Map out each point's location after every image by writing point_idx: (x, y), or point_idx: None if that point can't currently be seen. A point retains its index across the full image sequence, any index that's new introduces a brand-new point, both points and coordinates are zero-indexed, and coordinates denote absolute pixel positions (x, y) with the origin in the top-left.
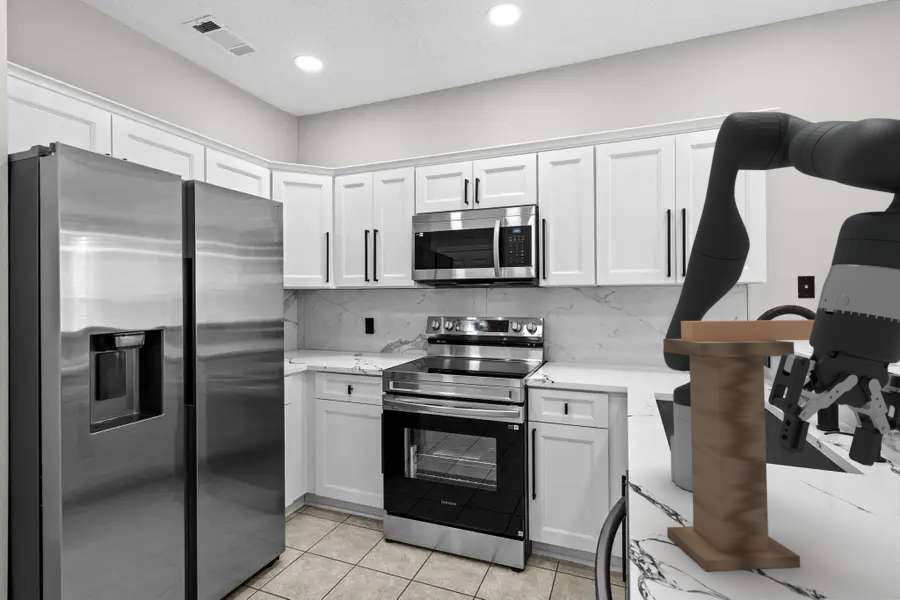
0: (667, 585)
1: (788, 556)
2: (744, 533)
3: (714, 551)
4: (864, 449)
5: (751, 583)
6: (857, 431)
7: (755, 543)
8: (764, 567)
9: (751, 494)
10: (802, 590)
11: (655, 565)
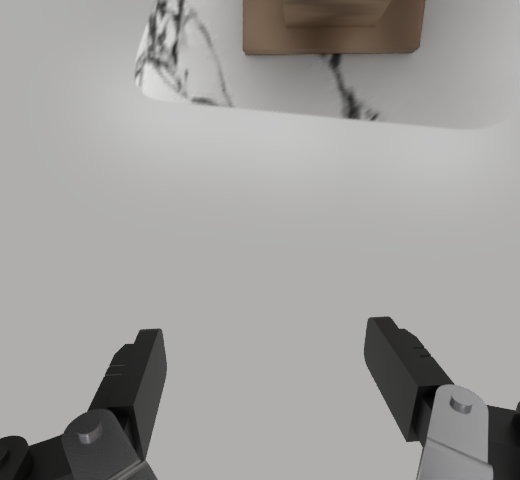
0: (171, 84)
1: (396, 47)
2: (331, 13)
3: (277, 17)
4: (380, 375)
5: (296, 89)
6: (407, 382)
7: (352, 20)
8: (347, 52)
9: None
10: (358, 114)
11: (178, 24)
